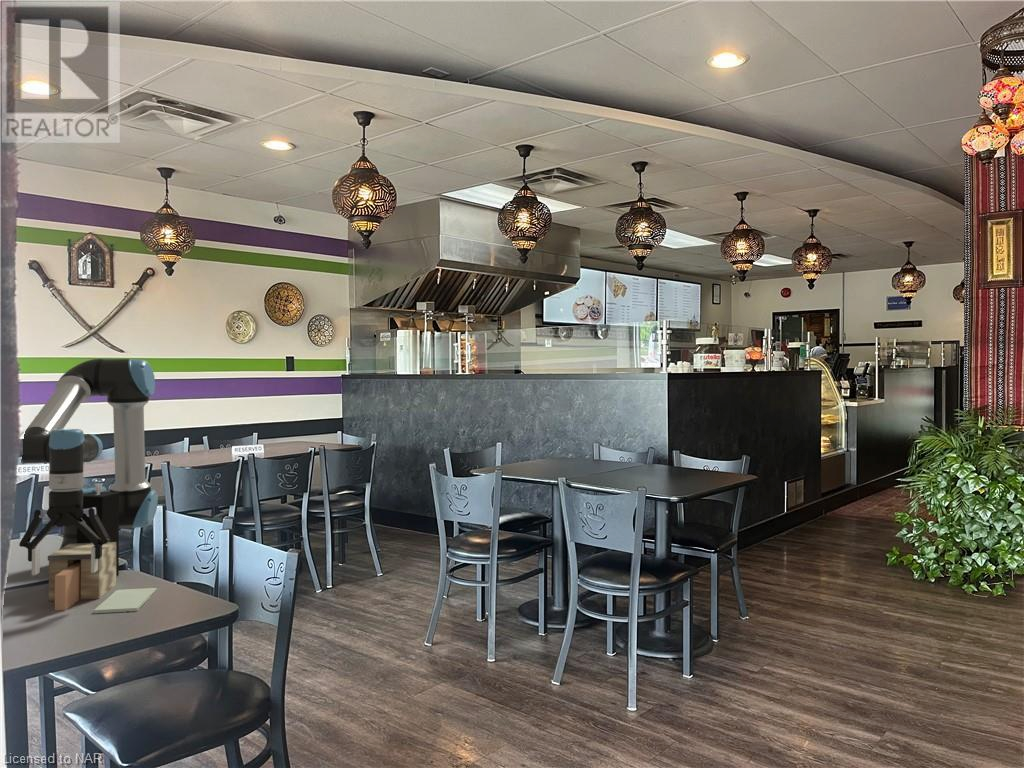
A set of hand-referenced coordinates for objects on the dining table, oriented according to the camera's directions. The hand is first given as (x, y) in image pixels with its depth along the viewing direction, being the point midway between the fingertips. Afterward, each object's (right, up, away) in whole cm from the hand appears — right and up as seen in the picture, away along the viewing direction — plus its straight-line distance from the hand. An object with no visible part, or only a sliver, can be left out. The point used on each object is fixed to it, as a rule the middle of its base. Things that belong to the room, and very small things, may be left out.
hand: (65, 572), depth 186 cm
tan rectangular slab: (-1, -9, +5) cm, 10 cm away
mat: (+13, -9, +5) cm, 17 cm away
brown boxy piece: (-3, -9, +13) cm, 15 cm away
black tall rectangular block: (-6, -9, +26) cm, 28 cm away
